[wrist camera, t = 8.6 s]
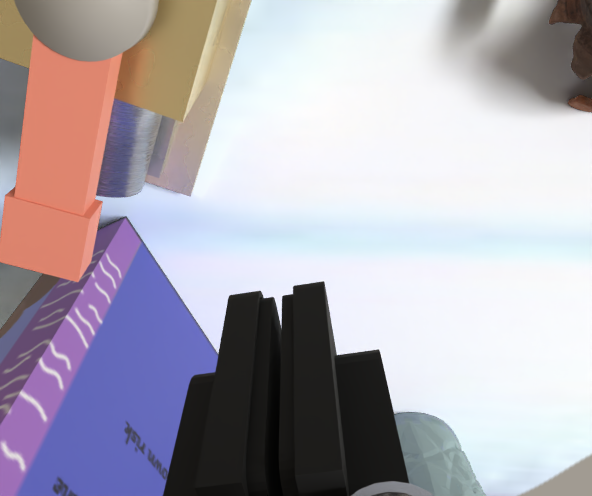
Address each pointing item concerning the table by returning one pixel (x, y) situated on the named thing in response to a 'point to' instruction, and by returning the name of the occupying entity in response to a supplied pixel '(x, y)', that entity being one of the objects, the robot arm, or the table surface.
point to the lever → (66, 129)
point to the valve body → (158, 91)
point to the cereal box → (97, 376)
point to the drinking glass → (435, 456)
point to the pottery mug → (578, 42)
